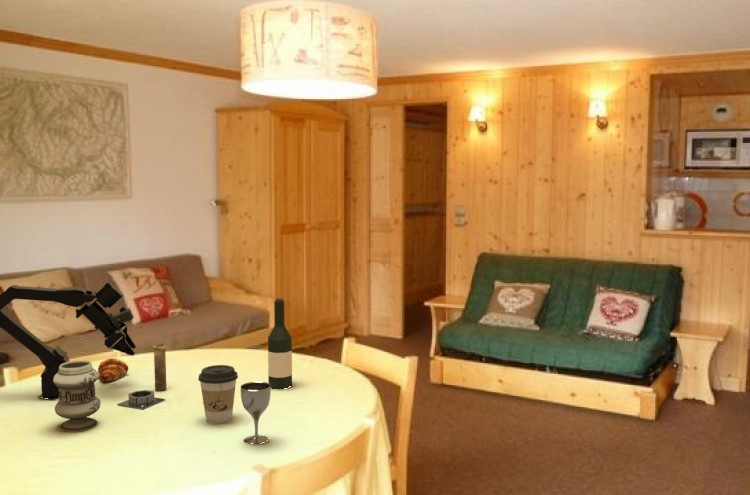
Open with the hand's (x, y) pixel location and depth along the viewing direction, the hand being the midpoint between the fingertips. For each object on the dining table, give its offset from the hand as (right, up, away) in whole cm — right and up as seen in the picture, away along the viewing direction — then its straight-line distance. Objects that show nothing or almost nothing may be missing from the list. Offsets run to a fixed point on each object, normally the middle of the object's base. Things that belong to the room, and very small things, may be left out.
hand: (134, 351), depth 235 cm
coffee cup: (+34, -16, -26) cm, 46 cm away
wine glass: (+47, -18, -42) cm, 66 cm away
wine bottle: (+47, -13, +6) cm, 49 cm away
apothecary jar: (-5, -17, -32) cm, 36 cm away
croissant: (-13, -12, +18) cm, 25 cm away
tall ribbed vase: (+8, -13, +2) cm, 15 cm away
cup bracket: (+6, -14, -12) cm, 20 cm away
